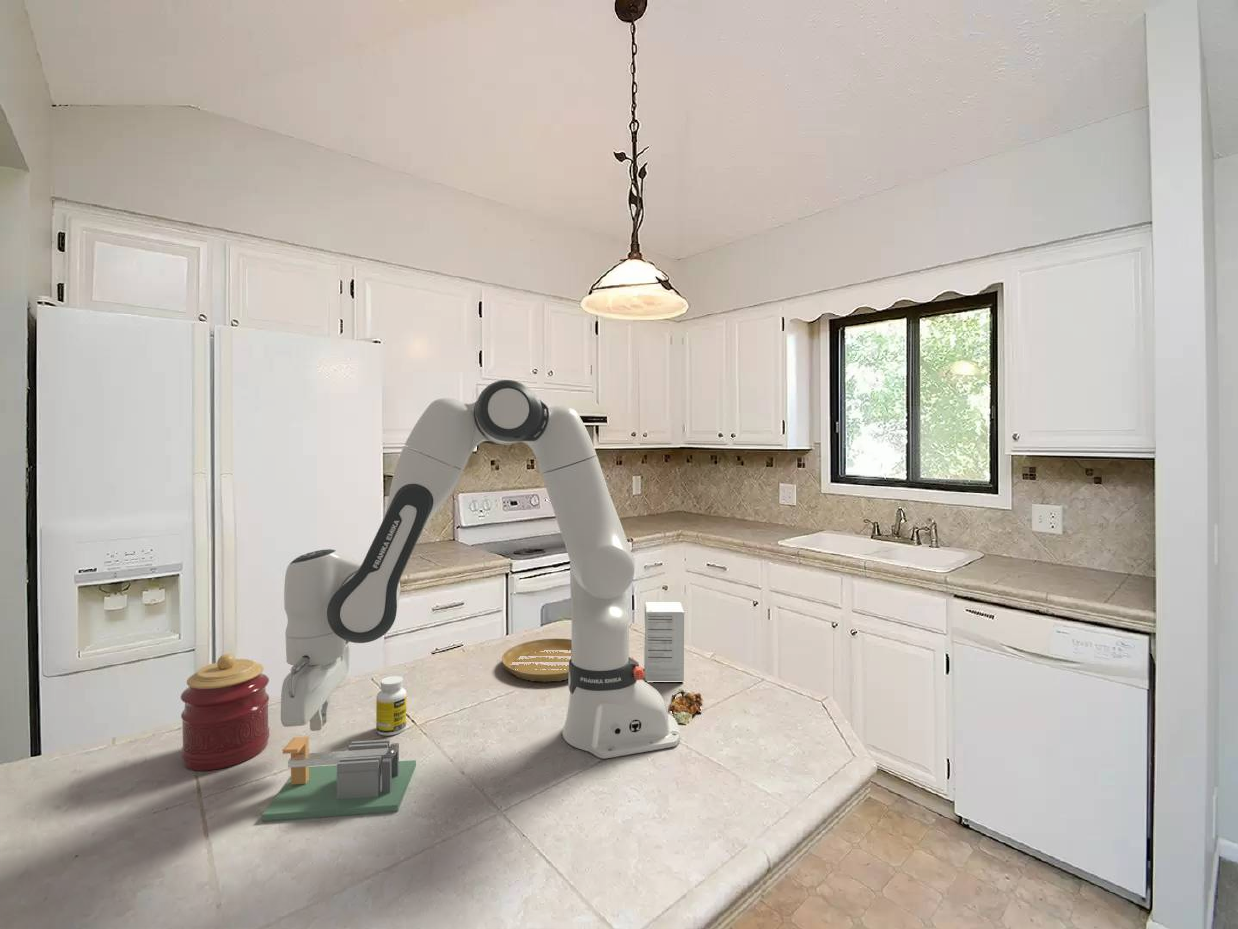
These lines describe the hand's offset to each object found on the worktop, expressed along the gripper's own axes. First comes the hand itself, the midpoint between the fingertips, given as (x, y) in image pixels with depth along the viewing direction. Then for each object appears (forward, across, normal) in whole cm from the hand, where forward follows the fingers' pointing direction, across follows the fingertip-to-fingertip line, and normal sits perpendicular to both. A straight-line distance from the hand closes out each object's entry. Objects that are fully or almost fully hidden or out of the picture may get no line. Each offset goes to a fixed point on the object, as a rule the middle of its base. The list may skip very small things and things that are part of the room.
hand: (319, 726), depth 97 cm
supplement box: (+9, +32, -67) cm, 74 cm away
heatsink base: (+7, -8, -6) cm, 13 cm away
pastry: (+9, +13, -67) cm, 69 cm away
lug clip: (+6, -7, +1) cm, 10 cm away
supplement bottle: (+8, +12, -9) cm, 17 cm away
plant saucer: (+9, +41, -40) cm, 58 cm away
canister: (+7, +7, +18) cm, 21 cm away
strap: (+2, -8, -6) cm, 10 cm away
